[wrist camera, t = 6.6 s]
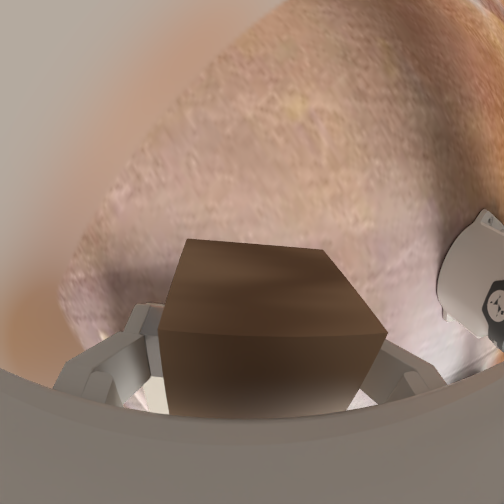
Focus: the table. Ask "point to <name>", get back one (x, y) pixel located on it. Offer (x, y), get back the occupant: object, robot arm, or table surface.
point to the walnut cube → (263, 333)
